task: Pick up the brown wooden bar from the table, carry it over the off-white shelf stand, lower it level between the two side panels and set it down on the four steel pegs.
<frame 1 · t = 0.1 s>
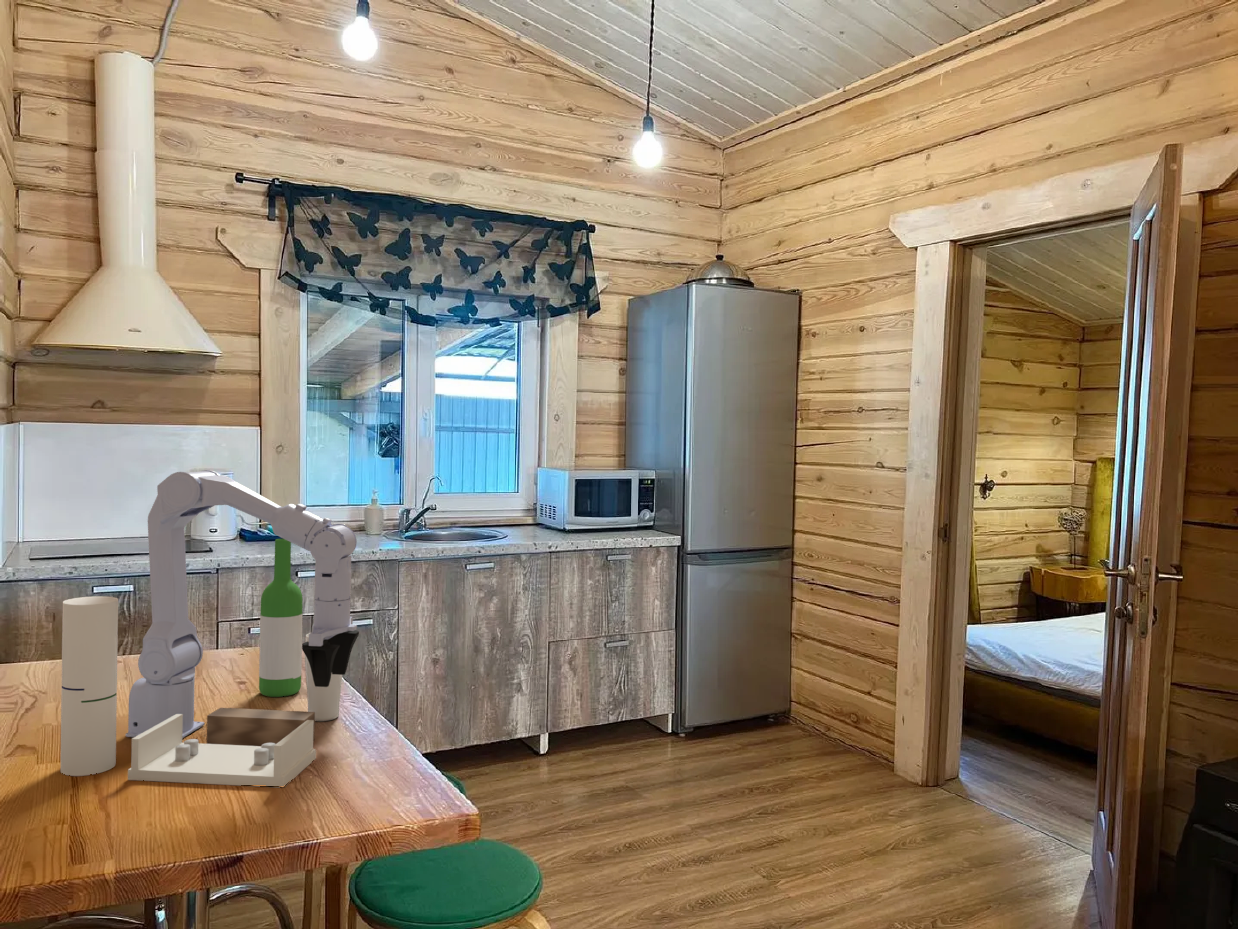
hand: (330, 680, 151), 10 cm above the table, tool pointing down, fingers open, 7 cm apart
wine bottle: (280, 693, 177), on the table
cylindrical container: (88, 768, 136), on the table
drinking glass: (323, 719, 162), on the table
brown wooden bar: (261, 744, 149), on the table
shelf stand: (225, 768, 137), on the table
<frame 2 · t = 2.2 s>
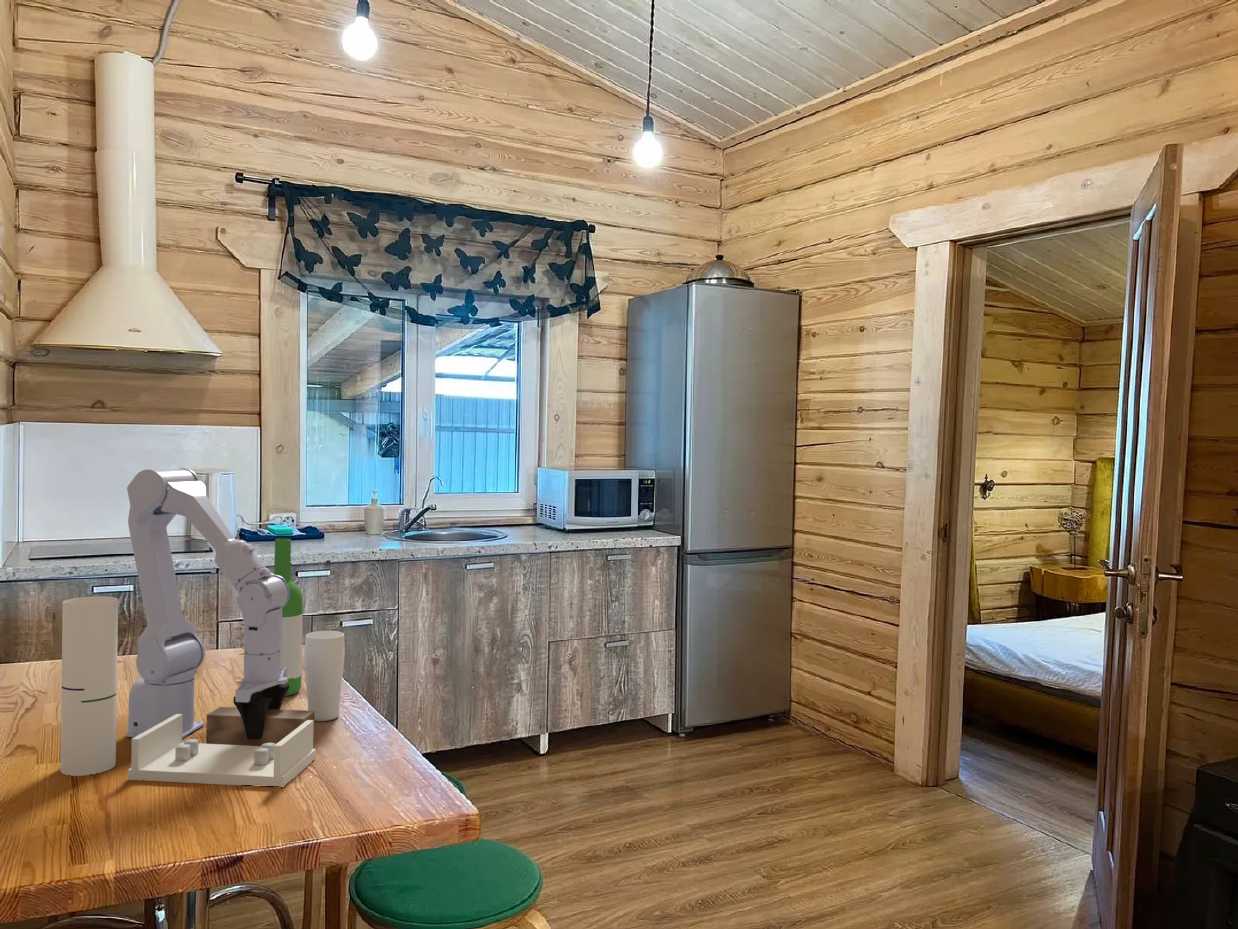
hand: (261, 733, 149), 1 cm above the table, tool pointing down, fingers closed on brown wooden bar, 4 cm apart
brown wooden bar: (260, 743, 149), on the table, touching gripper
everything else where it was.
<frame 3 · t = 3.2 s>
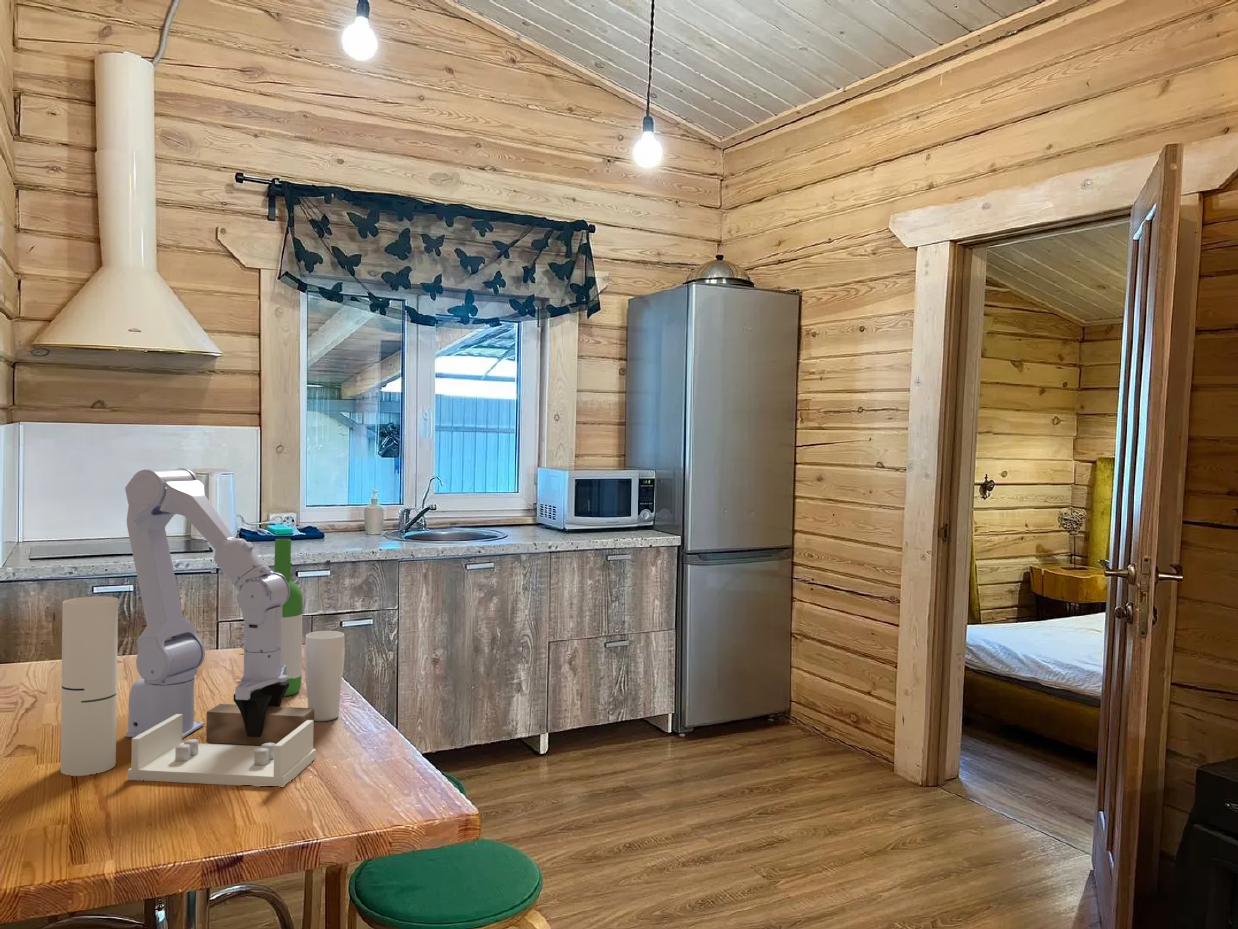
hand: (261, 731, 149), 2 cm above the table, tool pointing down, fingers closed on brown wooden bar, 4 cm apart
brown wooden bar: (260, 740, 149), on the table, touching gripper
everything else where it was.
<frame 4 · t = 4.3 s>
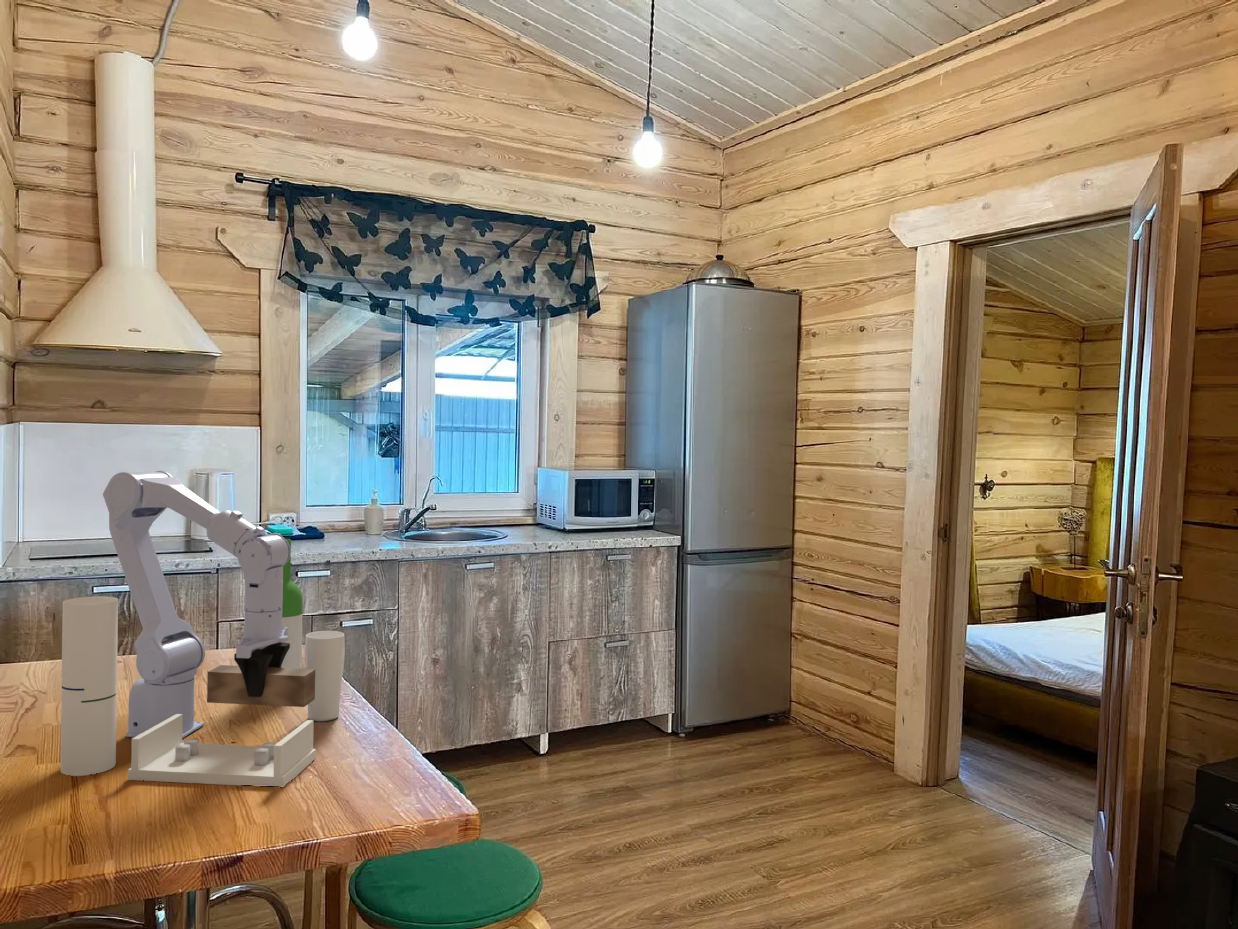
hand: (262, 692, 149), 8 cm above the table, tool pointing down, fingers closed on brown wooden bar, 4 cm apart
brown wooden bar: (261, 701, 149), point 7 cm above the table, touching gripper
everything else where it was.
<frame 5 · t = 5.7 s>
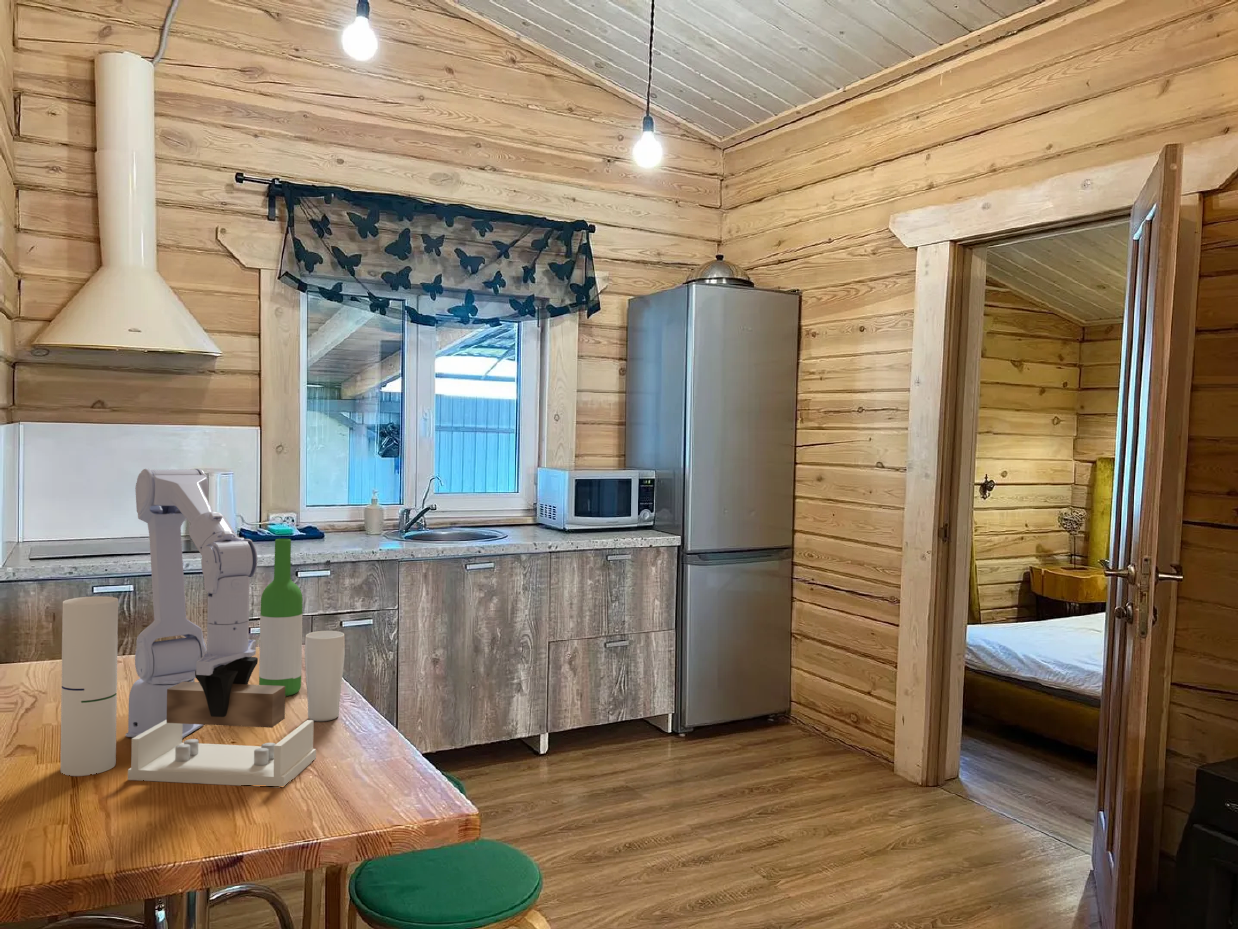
hand: (226, 711, 137), 9 cm above the table, tool pointing down, fingers closed on brown wooden bar, 4 cm apart
brown wooden bar: (226, 720, 137), point 7 cm above the table, touching gripper
everything else where it was.
when the fingers open (6 cm above the table, at t = 6.7 s): brown wooden bar stays where it is, resting on shelf stand.
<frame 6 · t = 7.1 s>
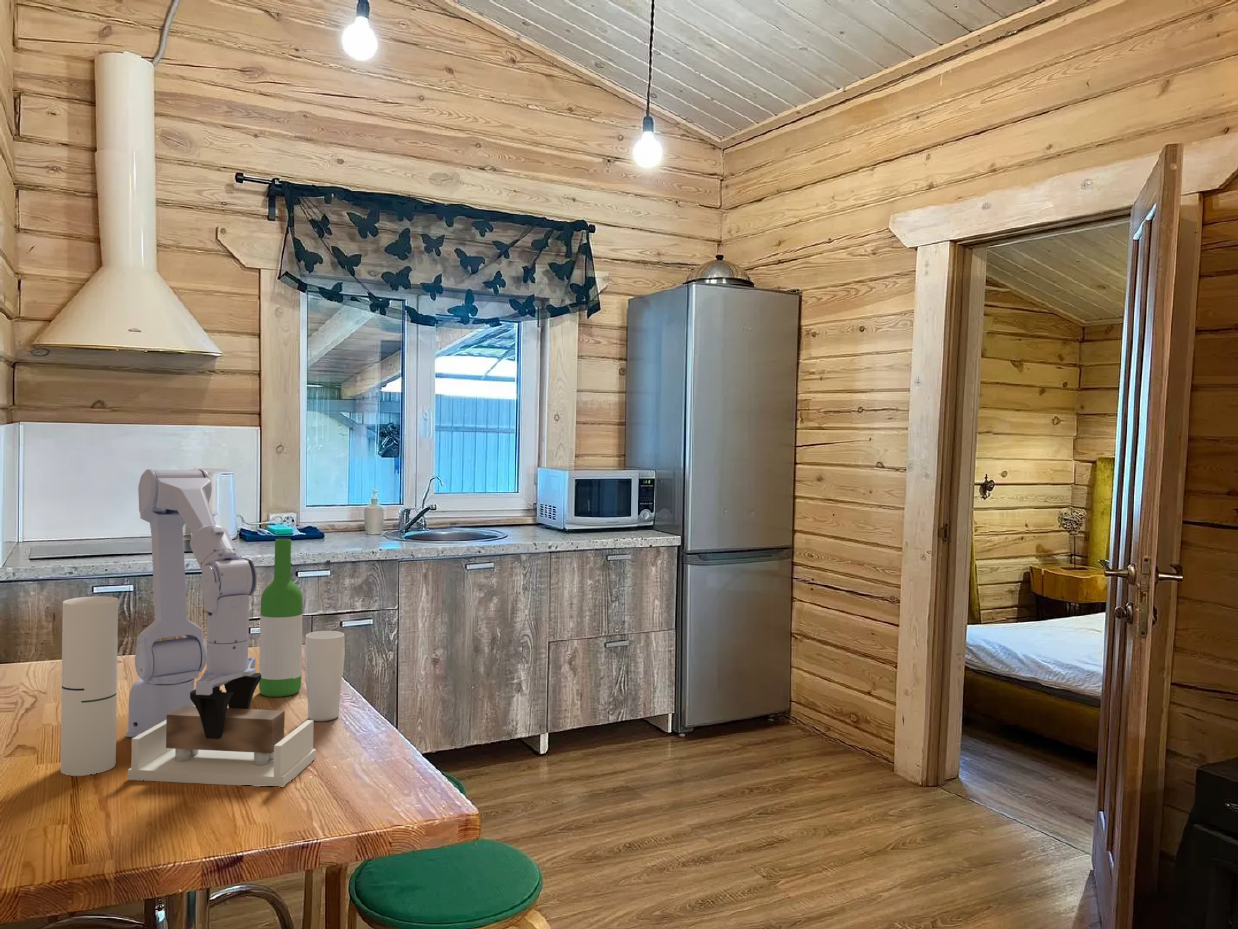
hand: (226, 729, 137), 6 cm above the table, tool pointing down, fingers open, 7 cm apart
brown wooden bar: (225, 745, 137), point 3 cm above the table, touching shelf stand
everything else where it was.
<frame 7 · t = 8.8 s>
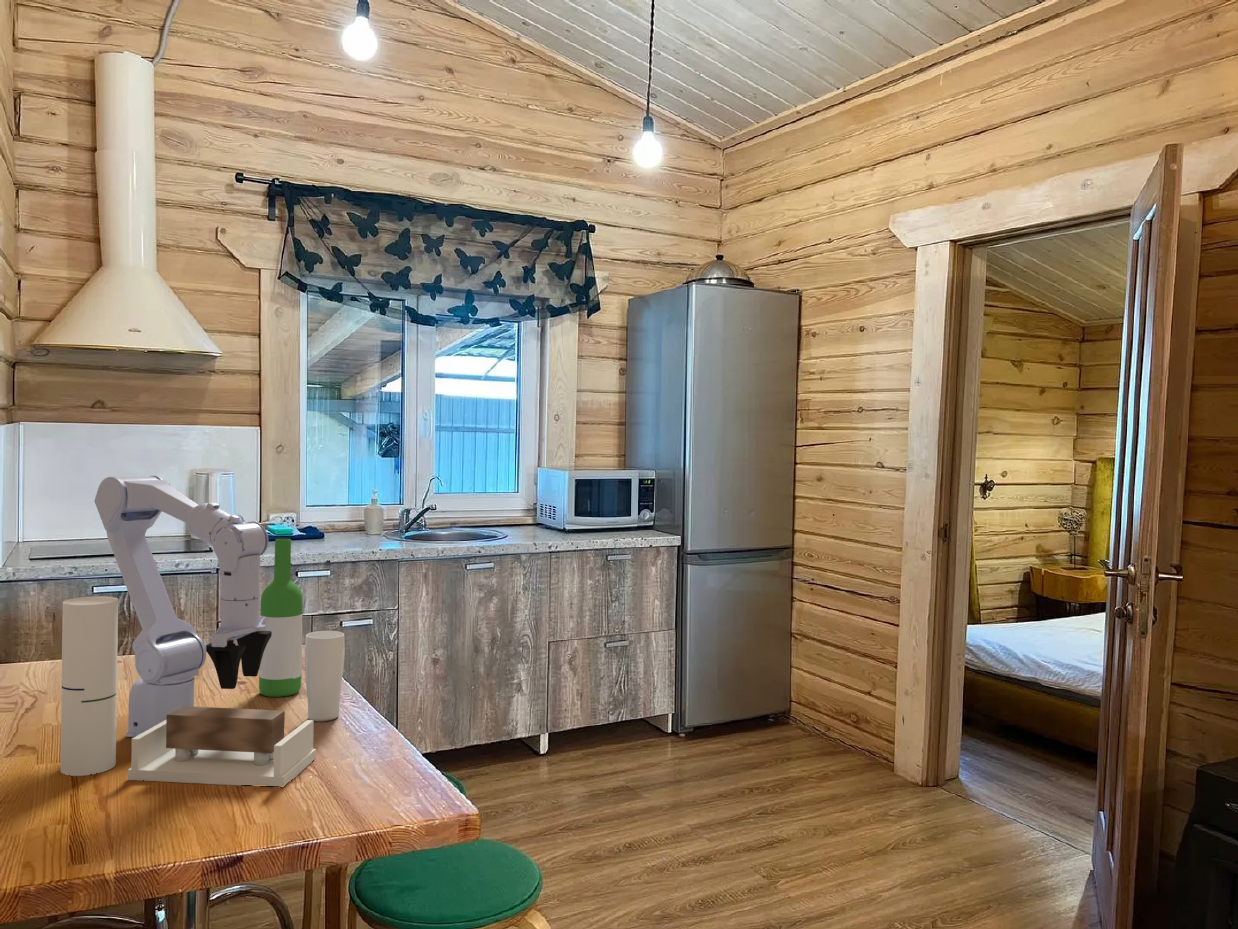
hand: (239, 682, 146), 10 cm above the table, tool pointing down, fingers open, 7 cm apart
nothing on the table moved.
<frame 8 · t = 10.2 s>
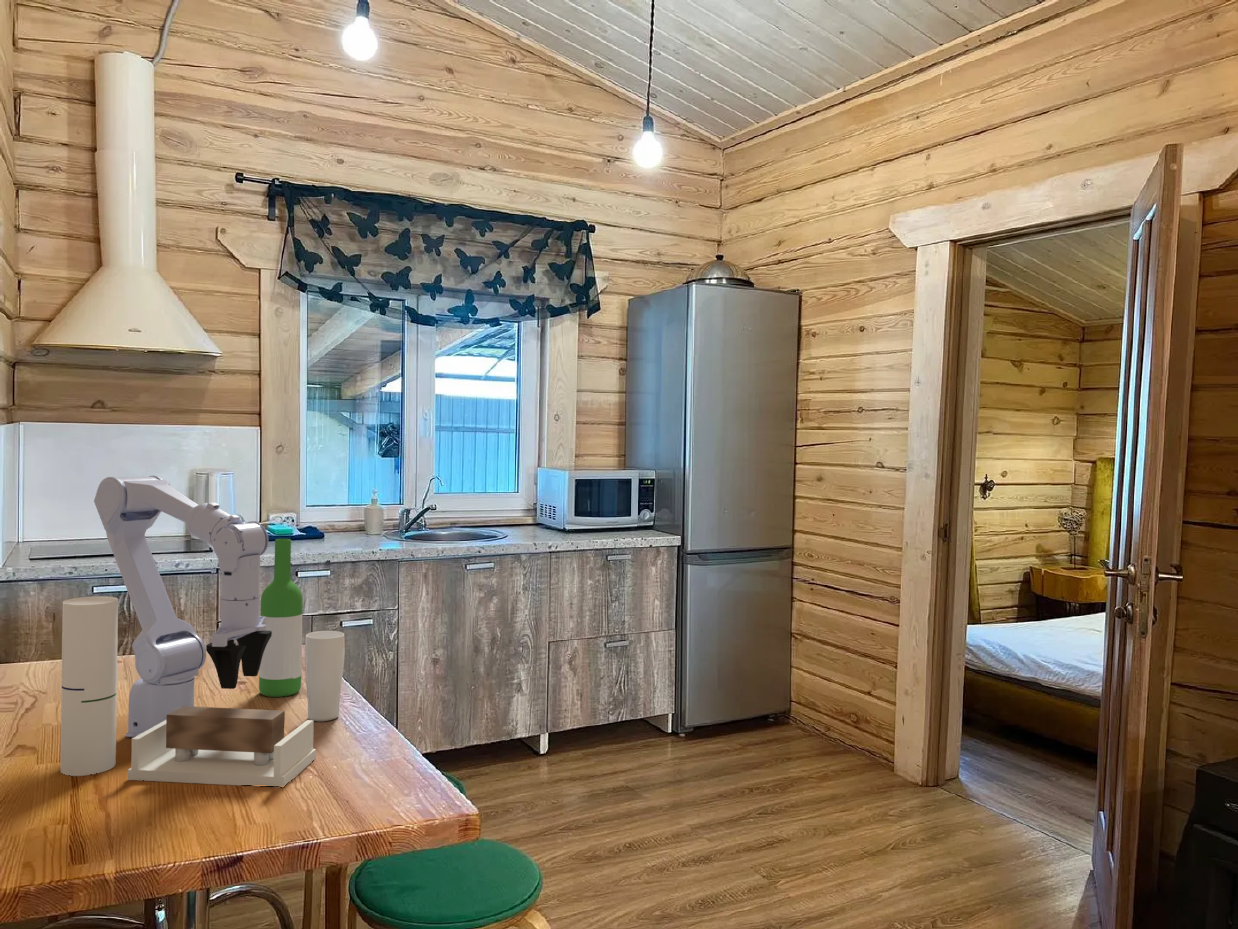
hand: (239, 681, 147), 10 cm above the table, tool pointing down, fingers open, 7 cm apart
nothing on the table moved.
at the end: brown wooden bar 0.0 cm off-centre on the shelf stand, point 3.5 cm above the shelf stand's base; brown wooden bar tilted 0°; the gripper is holding nothing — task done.
